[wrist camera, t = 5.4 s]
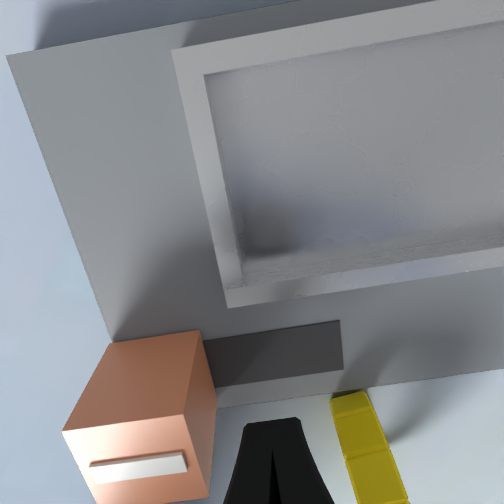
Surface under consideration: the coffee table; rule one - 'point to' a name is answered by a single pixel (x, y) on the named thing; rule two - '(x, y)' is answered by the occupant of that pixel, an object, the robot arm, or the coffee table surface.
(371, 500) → the watch
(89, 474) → the toggle
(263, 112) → the tray
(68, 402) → the coffee table surface
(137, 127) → the panel
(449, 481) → the coffee table surface
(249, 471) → the robot arm
